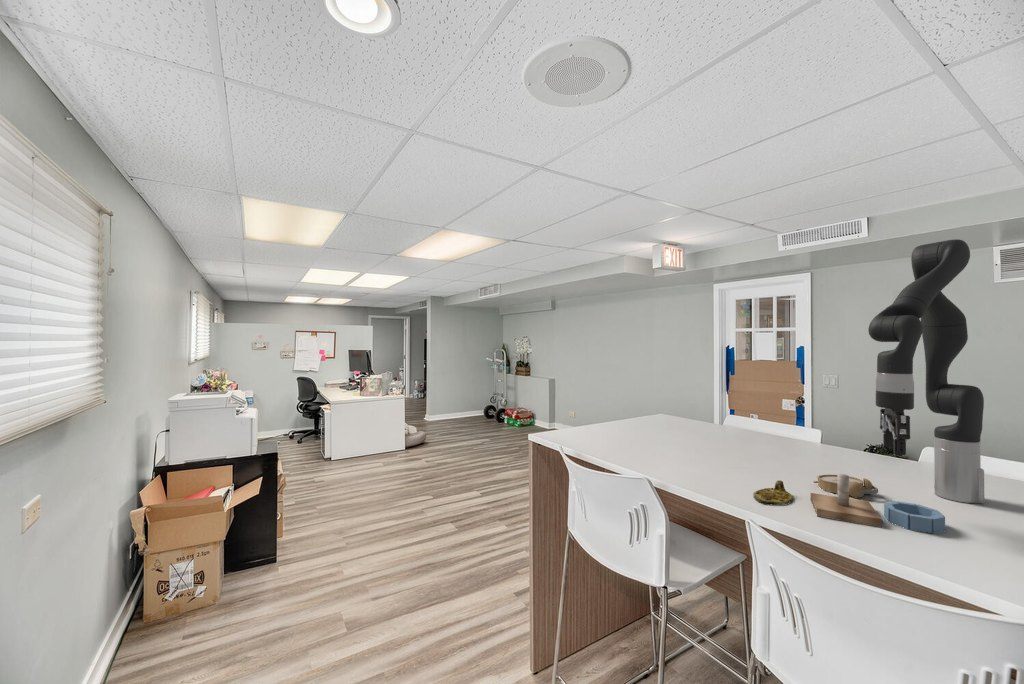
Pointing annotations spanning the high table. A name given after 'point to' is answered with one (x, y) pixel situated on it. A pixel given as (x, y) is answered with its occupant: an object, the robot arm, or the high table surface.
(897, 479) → the high table surface
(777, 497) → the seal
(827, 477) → the alarm clock
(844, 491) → the wooden peg stand
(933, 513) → the rubber loop
